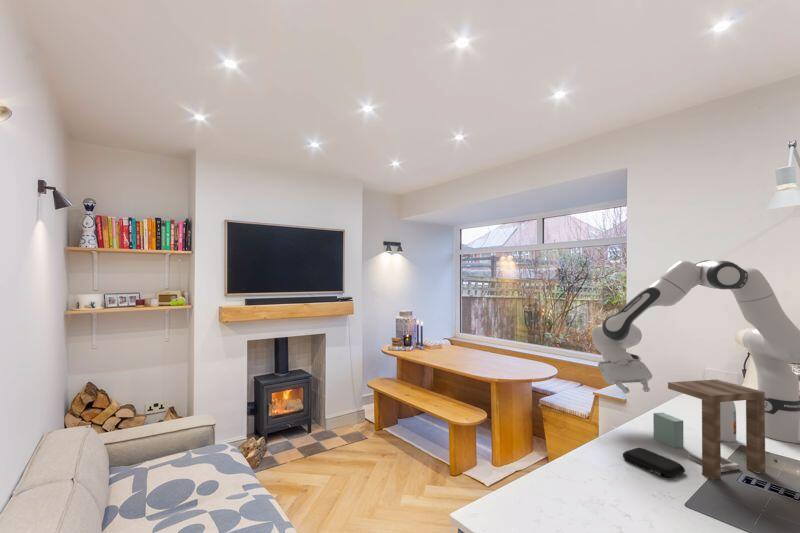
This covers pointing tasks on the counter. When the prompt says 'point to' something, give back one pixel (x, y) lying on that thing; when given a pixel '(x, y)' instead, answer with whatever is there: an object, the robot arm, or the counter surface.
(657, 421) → the sage rectangular block
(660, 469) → the carrying case or bag
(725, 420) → the milk bottle
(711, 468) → the walnut overhang shelf
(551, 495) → the counter surface
